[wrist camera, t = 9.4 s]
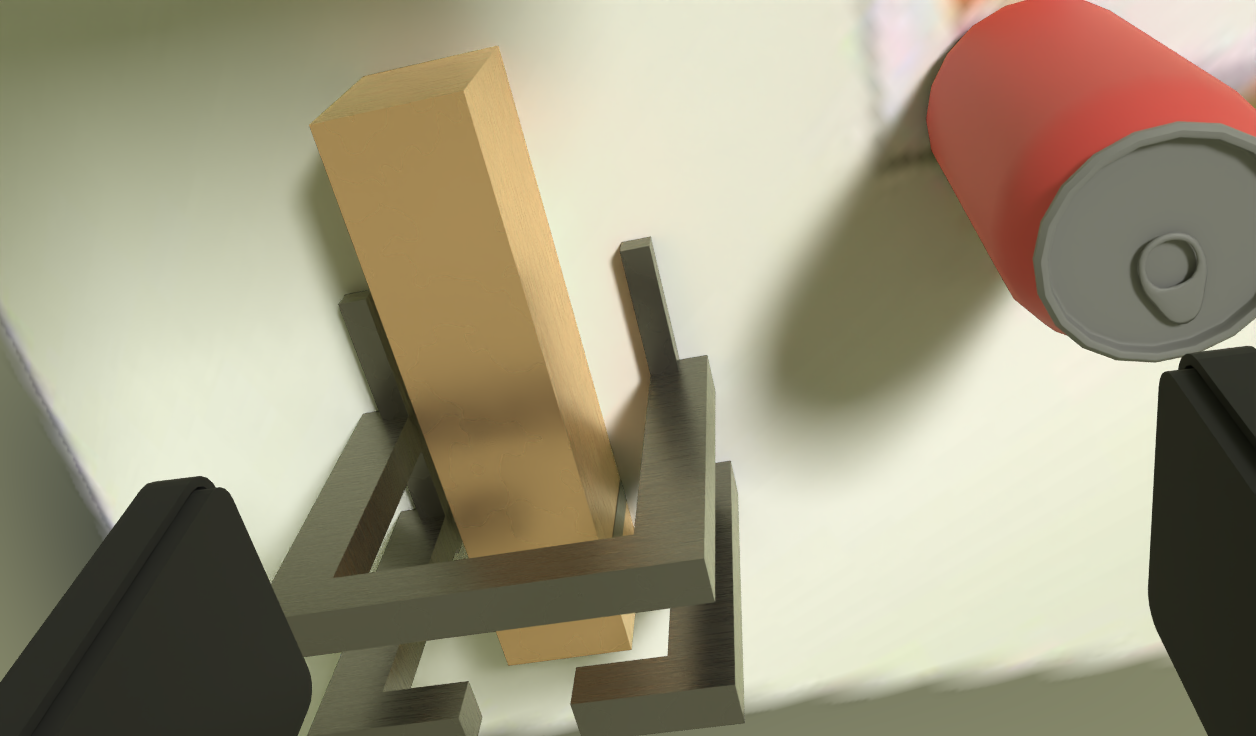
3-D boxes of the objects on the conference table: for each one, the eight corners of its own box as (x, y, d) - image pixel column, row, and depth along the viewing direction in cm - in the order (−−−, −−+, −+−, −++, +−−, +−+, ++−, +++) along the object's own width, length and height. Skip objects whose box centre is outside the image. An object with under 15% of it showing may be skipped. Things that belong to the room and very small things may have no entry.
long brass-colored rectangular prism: (363, 75, 36) (308, 125, 31) (499, 45, 35) (463, 90, 30) (530, 568, 45) (507, 665, 40) (641, 552, 44) (632, 649, 39)
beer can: (960, 233, 37) (1057, 423, 26) (893, 48, 34) (972, 176, 24) (1165, 154, 35) (1358, 322, 25) (1112, -47, 33) (1302, 45, 22)
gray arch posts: (318, 299, 40) (183, 483, 30) (679, 231, 38) (666, 404, 27) (415, 547, 45) (326, 777, 35) (739, 499, 42) (746, 729, 32)
